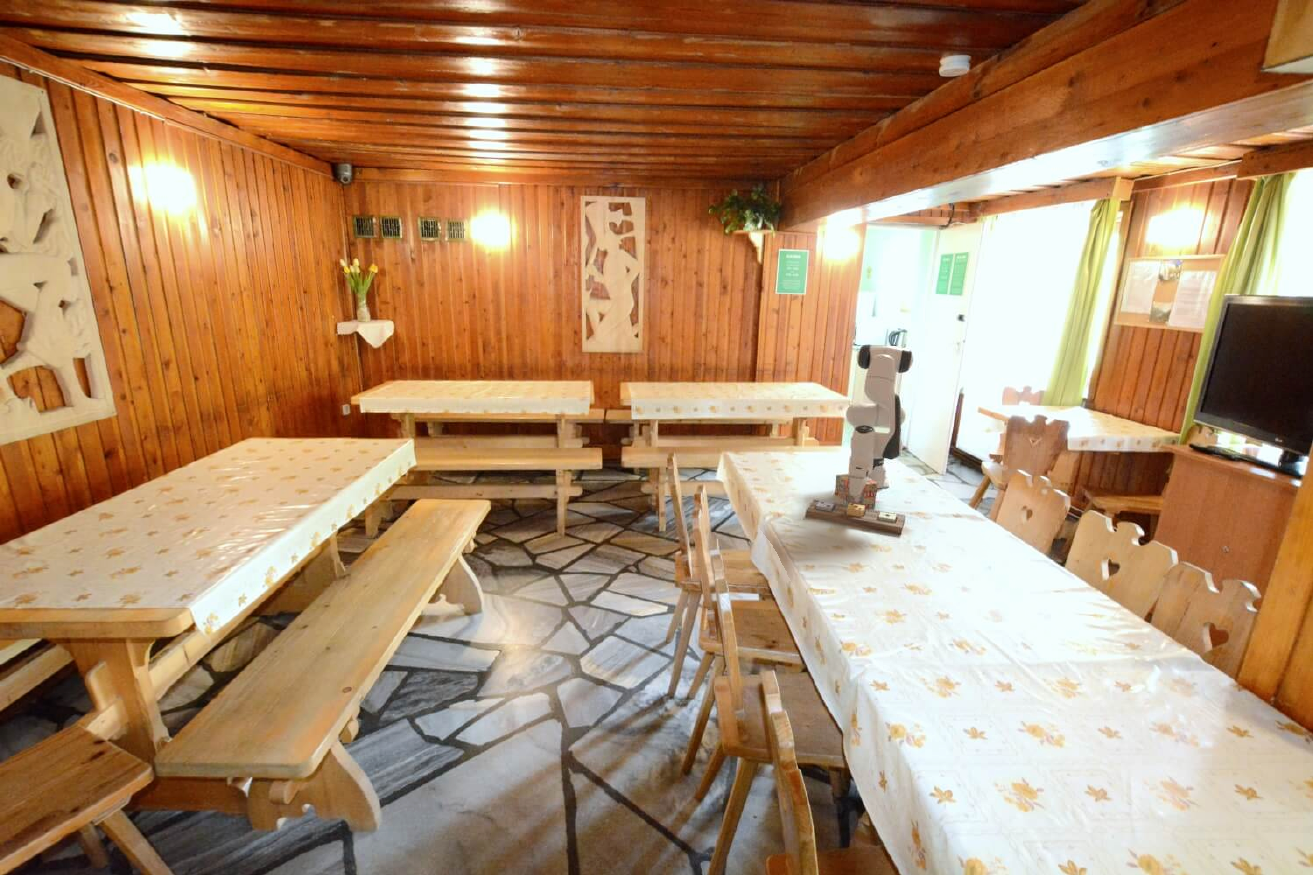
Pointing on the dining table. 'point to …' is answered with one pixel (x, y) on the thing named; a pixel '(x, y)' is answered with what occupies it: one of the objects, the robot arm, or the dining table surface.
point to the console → (856, 518)
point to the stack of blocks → (866, 495)
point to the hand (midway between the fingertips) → (857, 500)
